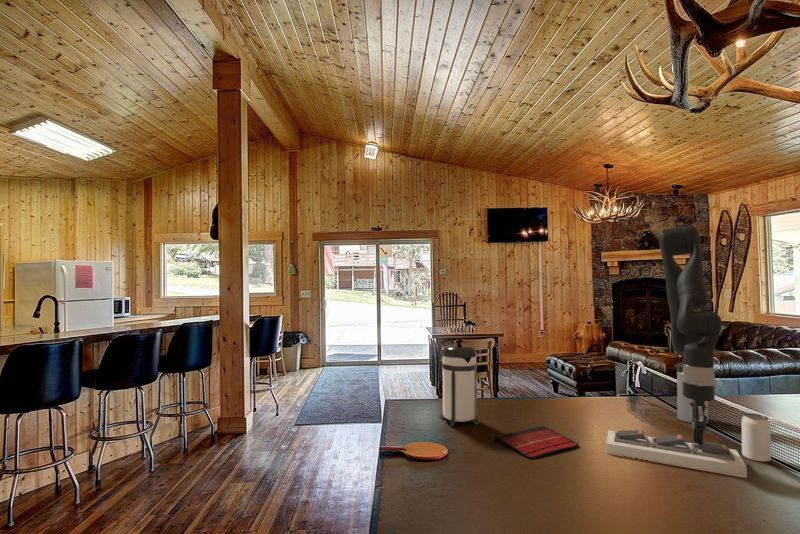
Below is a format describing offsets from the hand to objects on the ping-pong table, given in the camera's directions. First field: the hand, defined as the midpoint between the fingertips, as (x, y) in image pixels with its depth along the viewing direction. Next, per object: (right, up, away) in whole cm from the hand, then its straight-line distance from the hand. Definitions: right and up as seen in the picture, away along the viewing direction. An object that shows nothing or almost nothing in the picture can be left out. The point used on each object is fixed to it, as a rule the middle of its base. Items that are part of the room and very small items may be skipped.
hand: (697, 442), depth 122 cm
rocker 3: (+3, -1, -1) cm, 3 cm away
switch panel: (-6, -6, +3) cm, 9 cm away
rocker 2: (-6, -1, +3) cm, 7 cm away
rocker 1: (-15, -1, +8) cm, 17 cm away
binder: (-41, -6, +13) cm, 44 cm away
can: (+19, -6, +3) cm, 20 cm away
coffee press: (-64, -6, +35) cm, 73 cm away
